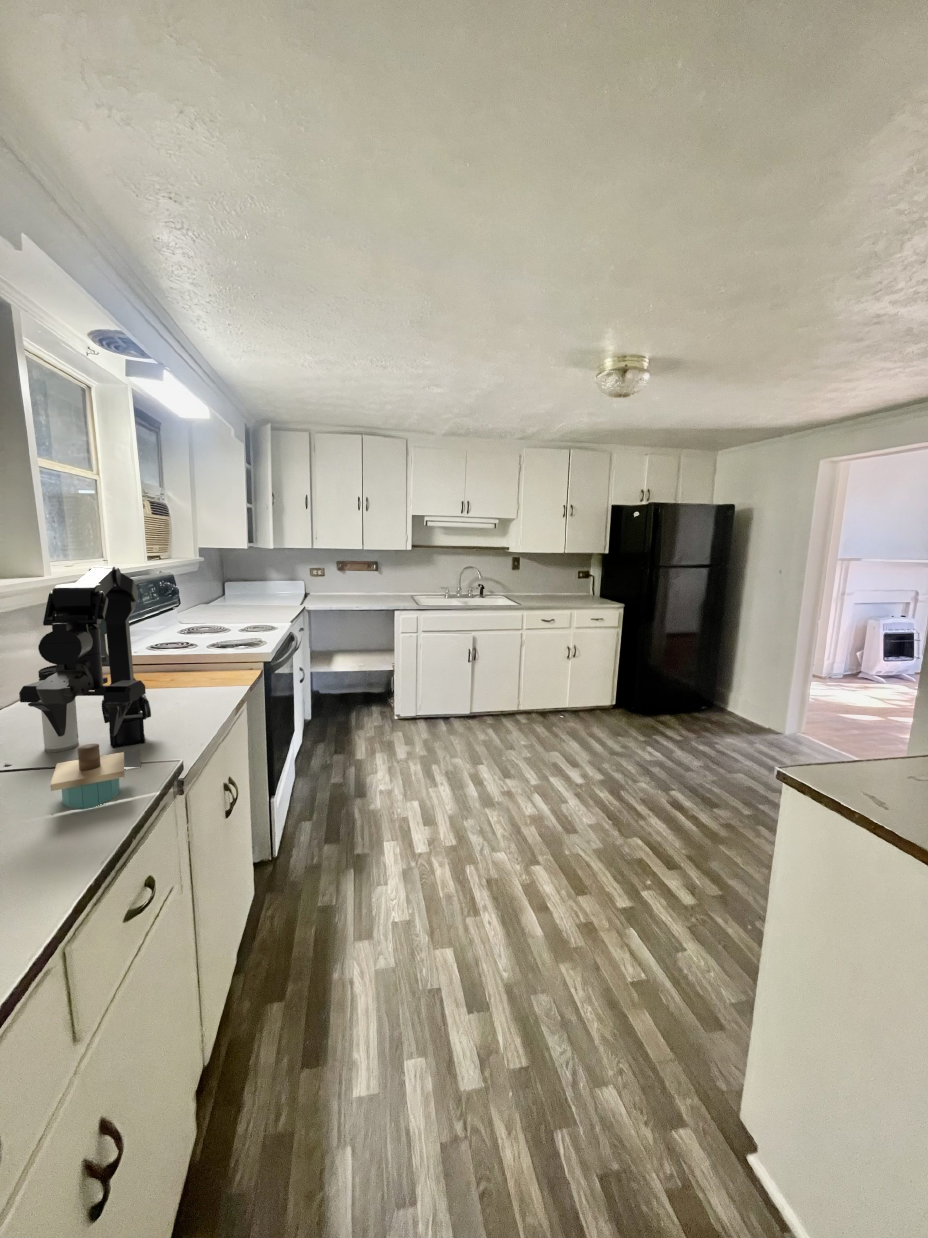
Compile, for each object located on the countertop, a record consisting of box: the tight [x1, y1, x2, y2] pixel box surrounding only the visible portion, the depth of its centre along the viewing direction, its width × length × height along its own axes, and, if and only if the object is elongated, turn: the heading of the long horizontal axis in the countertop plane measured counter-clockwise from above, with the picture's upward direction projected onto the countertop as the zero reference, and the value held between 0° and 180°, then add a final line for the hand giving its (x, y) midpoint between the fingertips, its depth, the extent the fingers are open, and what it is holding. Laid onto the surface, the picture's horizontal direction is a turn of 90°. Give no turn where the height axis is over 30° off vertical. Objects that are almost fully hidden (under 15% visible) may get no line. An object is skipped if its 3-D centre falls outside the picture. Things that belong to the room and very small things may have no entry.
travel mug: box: [37, 664, 80, 753], centre depth 114 cm, size 6×7×20 cm
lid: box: [49, 743, 125, 792], centre depth 92 cm, size 10×10×5 cm
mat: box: [76, 748, 142, 772], centre depth 107 cm, size 12×12×1 cm
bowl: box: [61, 778, 121, 811], centre depth 92 cm, size 8×8×5 cm
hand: (87, 735), depth 91 cm, fingers open, 9 cm apart
